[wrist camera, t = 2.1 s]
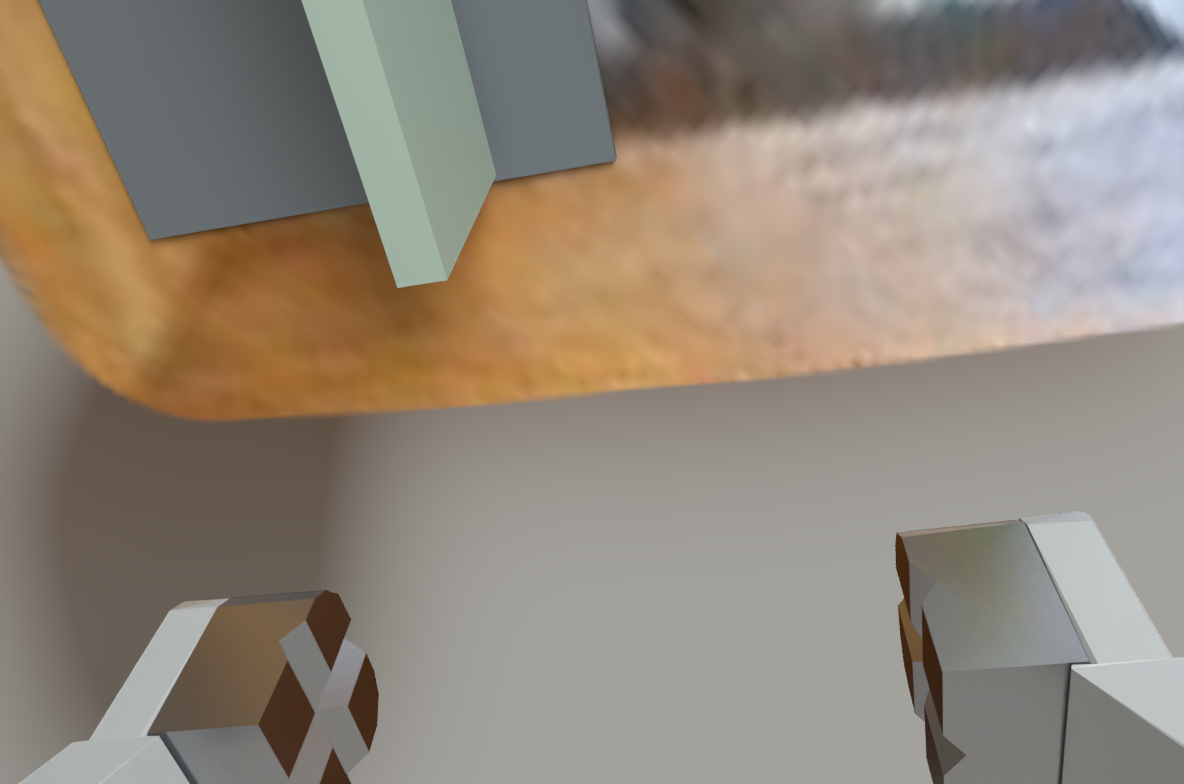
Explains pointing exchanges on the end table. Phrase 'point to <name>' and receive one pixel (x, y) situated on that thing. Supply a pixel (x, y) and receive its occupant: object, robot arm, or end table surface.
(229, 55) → the card
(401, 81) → the fence gate
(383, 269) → the end table surface
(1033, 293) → the end table surface
